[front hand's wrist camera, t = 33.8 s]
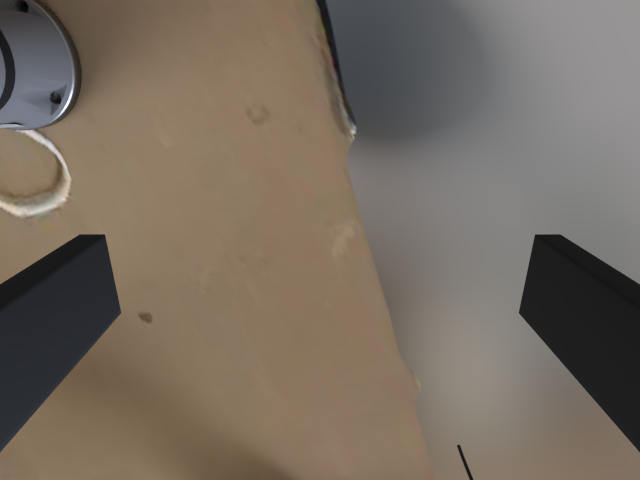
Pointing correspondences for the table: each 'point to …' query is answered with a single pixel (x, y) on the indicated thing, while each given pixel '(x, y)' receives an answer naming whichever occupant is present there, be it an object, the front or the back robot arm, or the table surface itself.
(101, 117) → the table surface
